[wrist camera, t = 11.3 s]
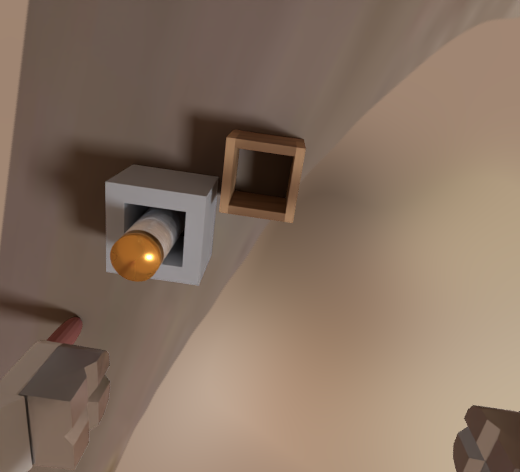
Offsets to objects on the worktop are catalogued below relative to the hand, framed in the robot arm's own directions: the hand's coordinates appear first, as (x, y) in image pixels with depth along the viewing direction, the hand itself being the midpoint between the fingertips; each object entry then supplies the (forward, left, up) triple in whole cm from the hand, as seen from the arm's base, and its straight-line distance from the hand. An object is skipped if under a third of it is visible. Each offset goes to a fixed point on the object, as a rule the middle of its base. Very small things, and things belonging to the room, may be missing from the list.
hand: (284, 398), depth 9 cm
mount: (+3, -2, -34) cm, 34 cm away
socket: (+9, -11, -34) cm, 37 cm away
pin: (+9, -11, -34) cm, 37 cm away
